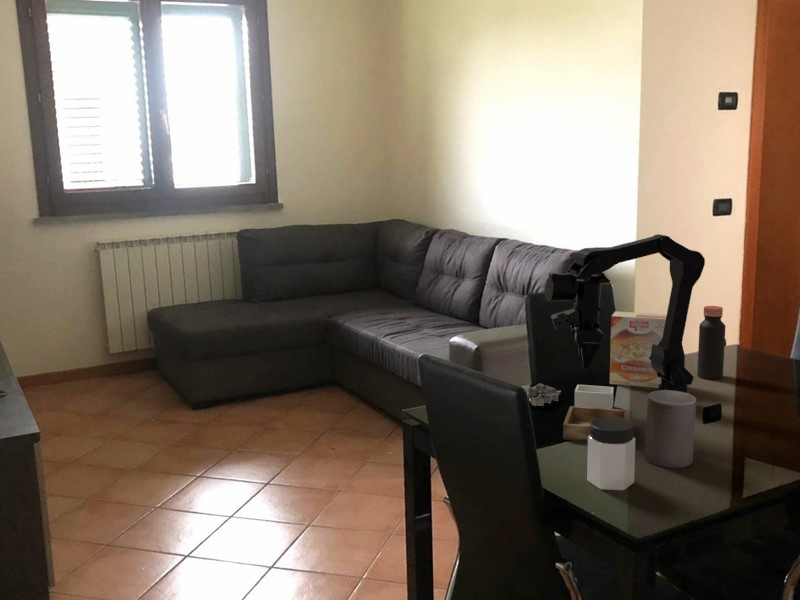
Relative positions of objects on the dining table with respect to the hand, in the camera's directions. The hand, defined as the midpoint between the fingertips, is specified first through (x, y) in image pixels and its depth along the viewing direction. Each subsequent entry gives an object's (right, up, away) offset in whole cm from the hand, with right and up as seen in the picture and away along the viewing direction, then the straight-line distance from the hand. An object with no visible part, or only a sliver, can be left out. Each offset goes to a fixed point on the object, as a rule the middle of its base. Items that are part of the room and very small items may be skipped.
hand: (583, 363), depth 195 cm
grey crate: (+4, -12, +5) cm, 13 cm away
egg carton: (-9, -11, +11) cm, 18 cm away
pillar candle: (+11, -18, -29) cm, 36 cm away
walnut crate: (0, -15, -12) cm, 19 cm away
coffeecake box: (+21, -8, +25) cm, 33 cm away
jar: (-4, -20, -39) cm, 44 cm away
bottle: (+42, -6, +29) cm, 52 cm away
